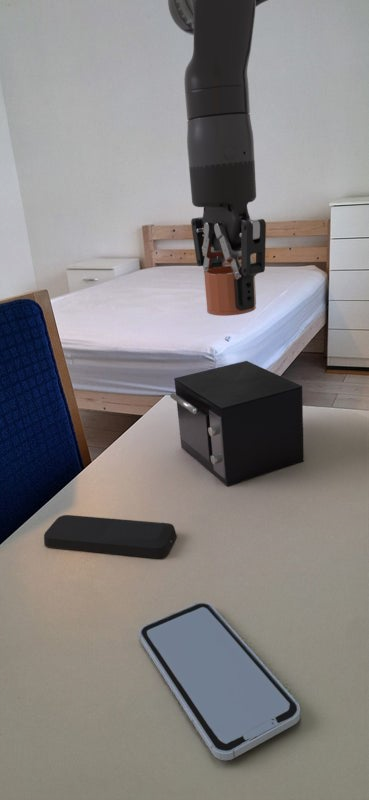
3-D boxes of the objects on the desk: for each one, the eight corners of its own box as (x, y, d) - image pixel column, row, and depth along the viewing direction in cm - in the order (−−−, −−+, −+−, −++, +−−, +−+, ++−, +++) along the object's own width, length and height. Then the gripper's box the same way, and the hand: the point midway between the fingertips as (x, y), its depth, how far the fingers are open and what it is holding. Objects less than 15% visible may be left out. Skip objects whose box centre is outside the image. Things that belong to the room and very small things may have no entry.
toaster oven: (250, 427, 93) (246, 360, 89) (303, 461, 81) (302, 386, 77) (171, 450, 88) (163, 380, 84) (216, 490, 76) (209, 411, 72)
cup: (239, 301, 78) (237, 263, 76) (265, 309, 73) (263, 268, 71) (198, 310, 76) (195, 270, 74) (222, 318, 71) (218, 276, 69)
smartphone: (206, 598, 56) (306, 711, 43) (207, 606, 57) (306, 721, 44) (134, 629, 53) (218, 759, 41) (136, 637, 54) (219, 769, 41)
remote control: (42, 550, 68) (165, 559, 64) (38, 537, 68) (163, 545, 63) (62, 526, 73) (179, 533, 68) (59, 514, 72) (177, 519, 67)
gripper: (285, 154, 64) (289, 308, 70) (219, 161, 76) (228, 292, 82) (223, 160, 61) (234, 321, 67) (166, 166, 73) (179, 301, 79)
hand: (231, 304), depth 74 cm, fingers closed on cup, 6 cm apart
